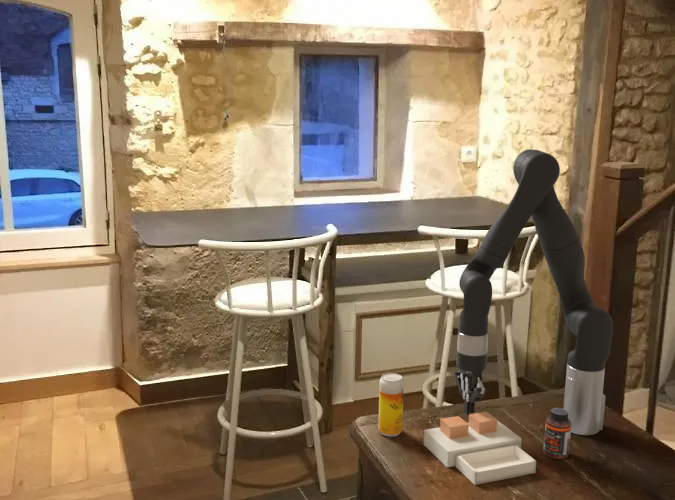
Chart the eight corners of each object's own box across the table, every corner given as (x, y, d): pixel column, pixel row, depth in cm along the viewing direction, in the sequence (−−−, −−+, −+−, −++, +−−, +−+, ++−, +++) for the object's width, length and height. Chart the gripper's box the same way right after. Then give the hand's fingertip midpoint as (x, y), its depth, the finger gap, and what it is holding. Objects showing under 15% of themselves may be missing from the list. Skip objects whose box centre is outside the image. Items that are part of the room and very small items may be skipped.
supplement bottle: (539, 455, 181) (542, 411, 178) (548, 446, 185) (552, 403, 183) (563, 462, 177) (566, 418, 175) (572, 453, 182) (576, 409, 180)
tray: (514, 456, 180) (515, 444, 180) (535, 472, 172) (536, 461, 172) (455, 467, 175) (456, 455, 174) (474, 484, 167) (475, 472, 166)
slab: (493, 432, 192) (494, 418, 191) (520, 453, 181) (521, 438, 181) (423, 444, 185) (424, 429, 185) (447, 467, 174) (447, 451, 174)
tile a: (485, 422, 189) (486, 411, 188) (496, 431, 184) (497, 419, 184) (468, 425, 187) (469, 414, 187) (478, 434, 183) (479, 422, 182)
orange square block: (457, 427, 186) (458, 416, 186) (468, 435, 182) (468, 424, 181) (439, 430, 184) (440, 418, 184) (449, 439, 180) (450, 427, 179)
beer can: (400, 438, 188) (402, 382, 185) (376, 436, 190) (378, 380, 186) (403, 428, 194) (405, 373, 191) (380, 425, 195) (381, 371, 192)
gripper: (499, 356, 183) (495, 422, 187) (472, 339, 195) (468, 401, 199) (472, 359, 181) (469, 426, 184) (446, 342, 193) (443, 405, 197)
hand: (468, 413), depth 192 cm, fingers closed
